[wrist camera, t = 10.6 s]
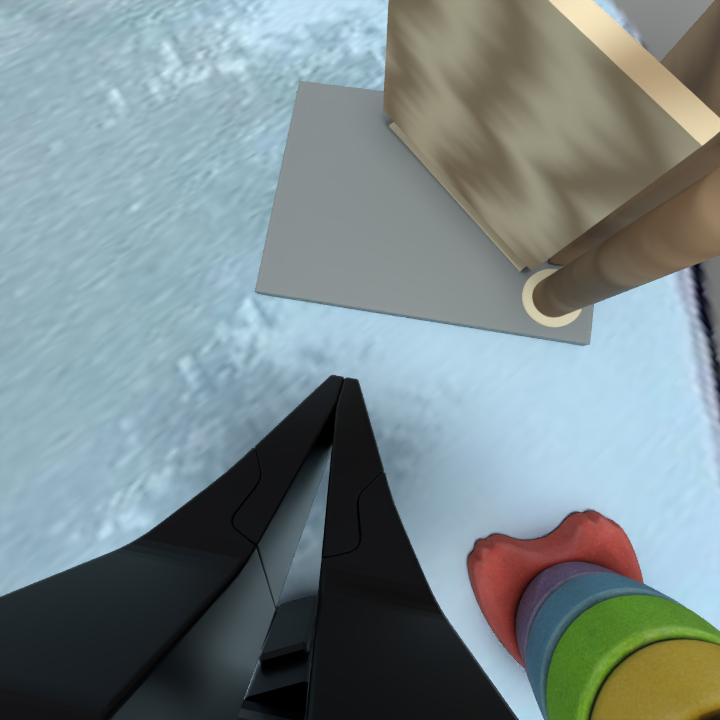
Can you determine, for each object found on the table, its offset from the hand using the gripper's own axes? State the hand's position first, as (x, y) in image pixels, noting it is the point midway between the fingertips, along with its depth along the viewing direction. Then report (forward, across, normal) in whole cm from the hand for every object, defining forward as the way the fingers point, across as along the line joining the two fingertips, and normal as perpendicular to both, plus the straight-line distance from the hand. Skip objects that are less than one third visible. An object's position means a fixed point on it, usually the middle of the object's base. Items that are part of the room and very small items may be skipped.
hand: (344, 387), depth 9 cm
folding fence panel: (+19, -5, -4) cm, 20 cm away
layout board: (+20, -4, -2) cm, 20 cm away
